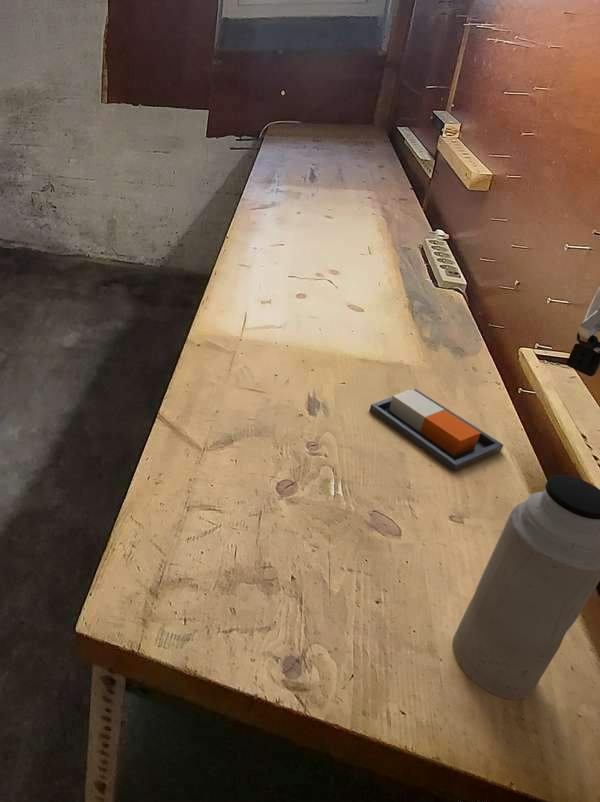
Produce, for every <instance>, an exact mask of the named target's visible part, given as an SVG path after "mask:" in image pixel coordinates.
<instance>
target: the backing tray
mask: <svg viewBox="0 0 600 802" xmlns="http://www.w3.org/2000/svg"><path fill="white" fill-rule="evenodd" d="M412 389H413V388H412ZM413 390H415V391H416V392H418V393H419V394H421V395H422V396H424V397H426V398H427V399H429V400H430V401H432V402H433V403H435V404H437V405H438V406H440V407H441V408H443V409H444V410H446V411H448V412H449V413H451V414H452V415H454V416H455V417H457V418H459V419H460V420H462V421H463V422H465V423H466V424H468V425H470V426H471V427H473V428H474V429H476V430H477V431H479V432H480V433H481V434H480V436H479V439H478V441H477V444H476V446H475V448H474V449H472V450H469V451H467V452H465V453H462V454H460V455H458V456H455V457H454V456H453V455H452V454H450V453H449V452H447V451H446V450H444V449H443V448H442V447H440V446H439V445H437V444H436V443H434V442H433V441H432V440H430V439H429V438H427V437H426V436H424V435H423V434H422V433H420V432H419V431H417V430H416V429H415V428H413V427H412V426H410V425H409V424H407V423H406V422H405V421H403V420H402V419H400V418H399V417H397V416H396V415H395V414H393V413H392V412H390V411H389V407H390V404H391V400H392V397H393V396H390V397H388V398H385V399H383V400H379V401H377V402H374V403H371V404H370V407H369V413H371V414H373V415H374V416H375V417H376V418H378V419H380V421H382V422H384V423H385V424H386V425H388V427H390V428H392V429H393V430H394V431H396V432H397V433H398V434H400V435H401V436H403V437H404V438H406V439H407V440H408V441H410V442H411V443H413V444H414V445H415V446H417V447H418V448H419V449H421V450H422V451H424V452H425V453H426V454H428V455H429V456H430V457H432V459H433V458H434V460H436V461H437V462H439V463H440V464H441V465H443V466H444V467H445V468H447V469H448V470H450V472H453V473H456V472H458V471H459V470H462V469H465V468H466V467H469V466H471V465H473V464H476V463H478V462H480V461H482V460H485V459H487V458H490V457H492V456H494V455H496V454H499V453H500V452H502V450H503V447H504V444H503V443H502V442H500V441H498V439H496V438H494V437H492V436H491V435H489V434H488V433H486V432H484V431H482V430H481V429H479V428H478V427H477V426H475V425H473V424H472V423H470V422H468V421H467V420H465V419H464V418H462V417H461V416H459V415H458V414H456V413H454V412H453V411H451V410H449V409H448V408H447V407H445V406H444V405H441V404H440V403H438V401H436V400H434V399H433V398H431V397H429V396H428V395H426V394H425V393H424V392H422V391H420V390H418V389H416V388H414V389H413Z"/></svg>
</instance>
